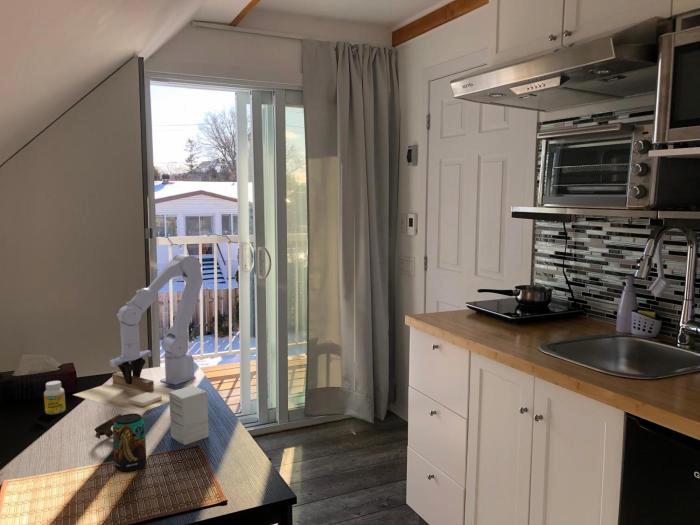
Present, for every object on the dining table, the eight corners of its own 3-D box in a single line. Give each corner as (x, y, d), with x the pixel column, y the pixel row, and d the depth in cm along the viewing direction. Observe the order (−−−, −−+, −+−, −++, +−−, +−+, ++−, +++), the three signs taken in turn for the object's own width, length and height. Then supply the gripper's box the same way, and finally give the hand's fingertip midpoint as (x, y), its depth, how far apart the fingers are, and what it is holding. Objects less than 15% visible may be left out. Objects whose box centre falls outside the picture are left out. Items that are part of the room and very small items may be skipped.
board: (126, 380, 200) (126, 377, 199) (190, 396, 183) (190, 393, 182) (72, 397, 183) (72, 394, 183) (137, 417, 166) (137, 413, 166)
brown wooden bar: (119, 381, 196) (118, 372, 195) (153, 390, 186) (153, 380, 186) (112, 383, 194) (112, 374, 193) (147, 392, 184) (147, 382, 184)
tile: (146, 392, 181) (161, 396, 177) (147, 395, 181) (161, 399, 177) (127, 398, 175) (142, 403, 171) (128, 402, 175) (143, 406, 171)
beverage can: (115, 476, 130) (112, 425, 129) (114, 463, 137) (111, 415, 135) (147, 470, 133) (145, 420, 132) (145, 458, 139) (143, 410, 138)
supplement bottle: (64, 409, 172) (62, 378, 171) (67, 415, 168) (64, 383, 167) (44, 413, 169) (42, 382, 168) (46, 419, 165) (44, 386, 164)
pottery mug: (114, 455, 142) (97, 426, 142) (101, 460, 149) (85, 433, 149) (155, 428, 151) (139, 401, 151) (141, 434, 157) (126, 408, 157)
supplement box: (195, 429, 156) (193, 384, 155) (209, 437, 151) (207, 391, 150) (170, 437, 151) (168, 391, 150) (184, 446, 146) (182, 398, 145)
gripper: (141, 336, 196) (143, 374, 198) (103, 345, 184) (105, 386, 186) (154, 338, 193) (156, 378, 194) (116, 348, 181) (119, 390, 182)
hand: (132, 382), depth 190 cm, fingers closed on brown wooden bar, 2 cm apart
